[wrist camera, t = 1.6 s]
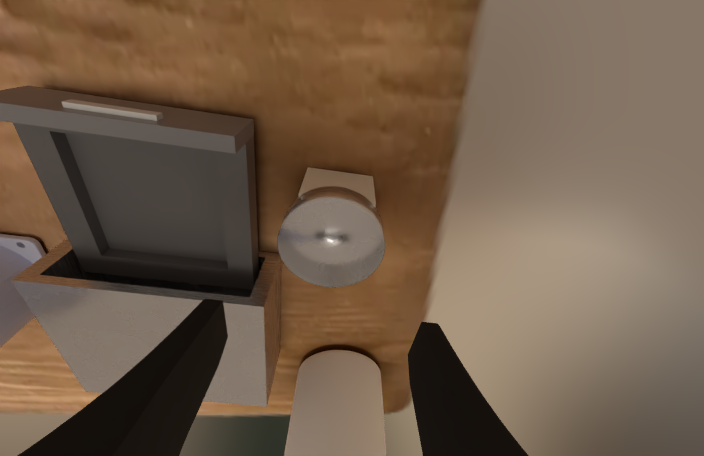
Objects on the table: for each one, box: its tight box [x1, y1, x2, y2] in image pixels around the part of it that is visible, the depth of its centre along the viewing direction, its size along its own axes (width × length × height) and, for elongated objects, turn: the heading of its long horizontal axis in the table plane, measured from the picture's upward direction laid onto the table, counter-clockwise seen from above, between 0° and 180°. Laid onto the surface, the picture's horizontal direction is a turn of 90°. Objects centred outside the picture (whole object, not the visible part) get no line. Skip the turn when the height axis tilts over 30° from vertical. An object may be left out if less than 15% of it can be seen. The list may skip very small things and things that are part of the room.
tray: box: [0, 86, 259, 290], centre depth 17 cm, size 11×12×3 cm
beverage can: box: [284, 350, 386, 456], centre depth 25 cm, size 8×8×12 cm
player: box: [11, 239, 281, 407], centre depth 23 cm, size 14×12×5 cm
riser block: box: [298, 167, 376, 207], centre depth 18 cm, size 4×4×4 cm
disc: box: [277, 186, 385, 287], centre depth 16 cm, size 5×5×2 cm
